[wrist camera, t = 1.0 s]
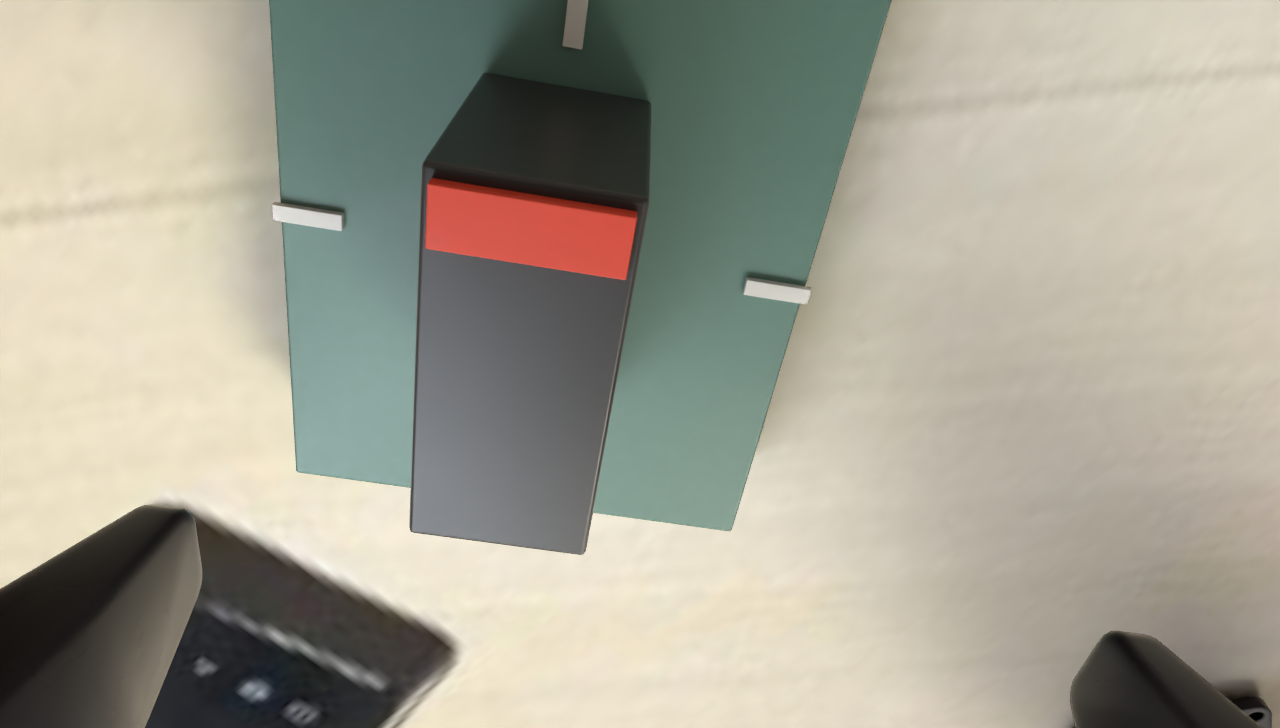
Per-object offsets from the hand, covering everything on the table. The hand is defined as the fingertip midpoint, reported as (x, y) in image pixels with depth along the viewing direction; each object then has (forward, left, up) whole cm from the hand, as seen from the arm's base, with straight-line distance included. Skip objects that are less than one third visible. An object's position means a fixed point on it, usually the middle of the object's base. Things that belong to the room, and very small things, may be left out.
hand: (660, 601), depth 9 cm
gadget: (0, +3, -11) cm, 11 cm away
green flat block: (0, +3, -13) cm, 13 cm away
